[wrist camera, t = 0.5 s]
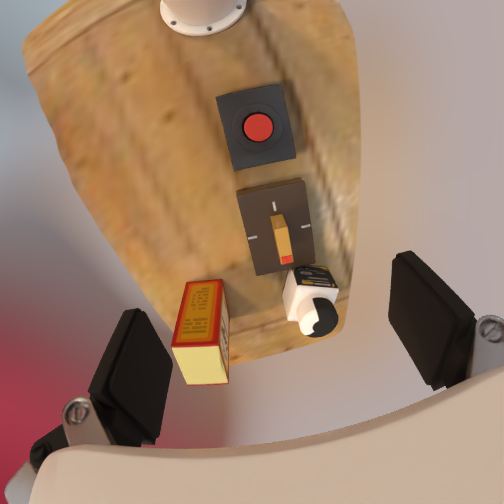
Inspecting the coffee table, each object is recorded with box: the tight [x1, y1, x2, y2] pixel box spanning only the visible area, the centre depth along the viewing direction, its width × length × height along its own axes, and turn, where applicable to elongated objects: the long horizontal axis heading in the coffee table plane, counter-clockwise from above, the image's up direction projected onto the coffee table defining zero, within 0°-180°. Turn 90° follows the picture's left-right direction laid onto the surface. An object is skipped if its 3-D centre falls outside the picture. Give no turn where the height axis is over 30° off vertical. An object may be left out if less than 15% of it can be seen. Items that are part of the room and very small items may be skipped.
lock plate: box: [236, 178, 316, 276], centre depth 43 cm, size 14×10×3 cm
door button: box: [244, 114, 273, 141], centre depth 33 cm, size 4×4×2 cm
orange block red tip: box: [270, 214, 294, 264], centre depth 40 cm, size 6×2×5 cm, turn 12°
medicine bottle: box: [282, 265, 339, 338], centre depth 45 cm, size 7×7×12 cm
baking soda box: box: [171, 279, 230, 385], centre depth 44 cm, size 10×6×16 cm
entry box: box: [216, 84, 296, 171], centre depth 35 cm, size 11×9×4 cm
